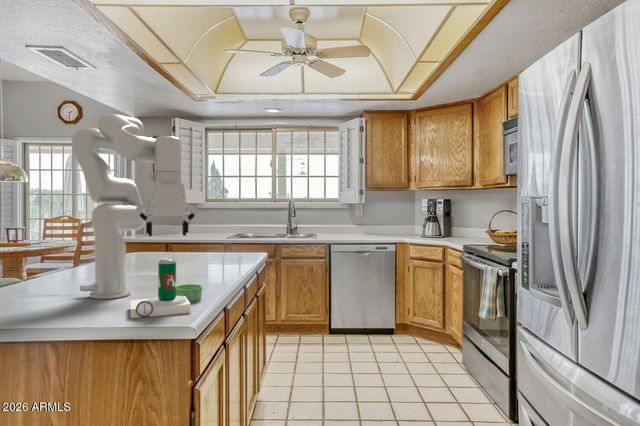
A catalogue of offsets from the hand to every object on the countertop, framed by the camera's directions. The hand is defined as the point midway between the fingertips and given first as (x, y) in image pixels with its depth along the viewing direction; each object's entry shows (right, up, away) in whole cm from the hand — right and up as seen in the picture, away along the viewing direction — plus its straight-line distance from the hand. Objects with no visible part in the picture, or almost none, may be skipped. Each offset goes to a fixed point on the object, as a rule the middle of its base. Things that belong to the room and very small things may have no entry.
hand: (167, 235), depth 125 cm
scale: (-2, -22, 0) cm, 22 cm away
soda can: (0, -19, 0) cm, 19 cm away
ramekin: (+2, -22, +14) cm, 27 cm away
